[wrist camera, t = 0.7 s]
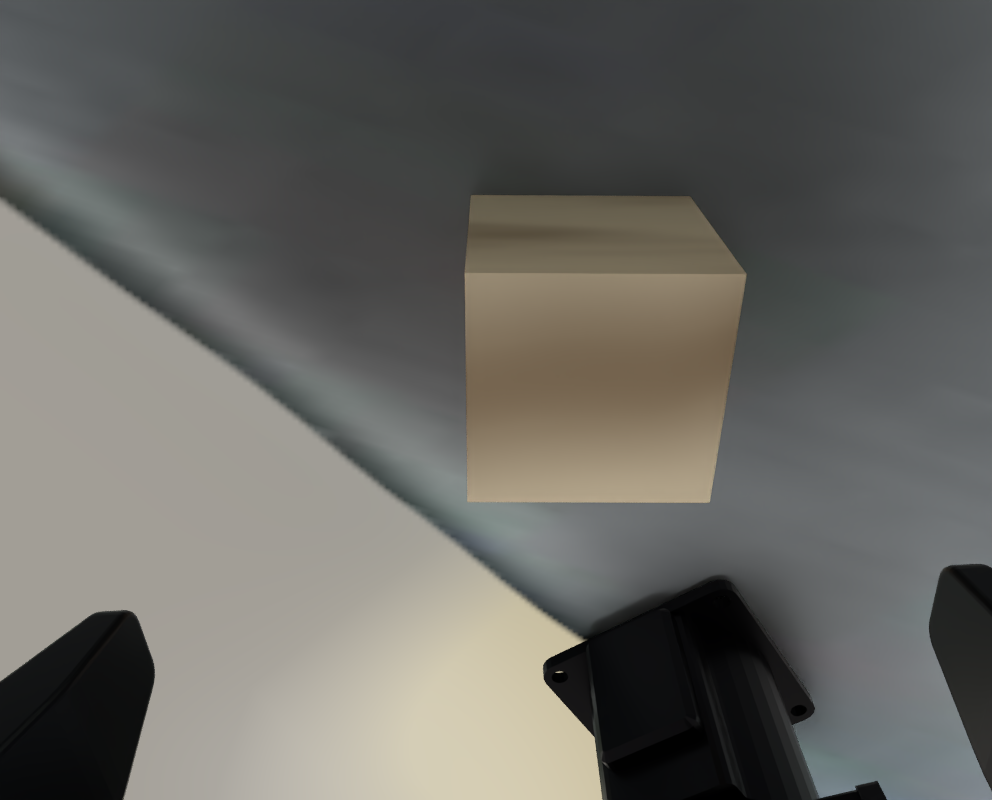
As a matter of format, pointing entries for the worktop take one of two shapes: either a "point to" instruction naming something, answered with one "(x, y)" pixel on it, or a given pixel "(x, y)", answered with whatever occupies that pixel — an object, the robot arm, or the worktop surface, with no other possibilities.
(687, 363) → the birch block
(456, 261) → the worktop surface
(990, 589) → the robot arm
